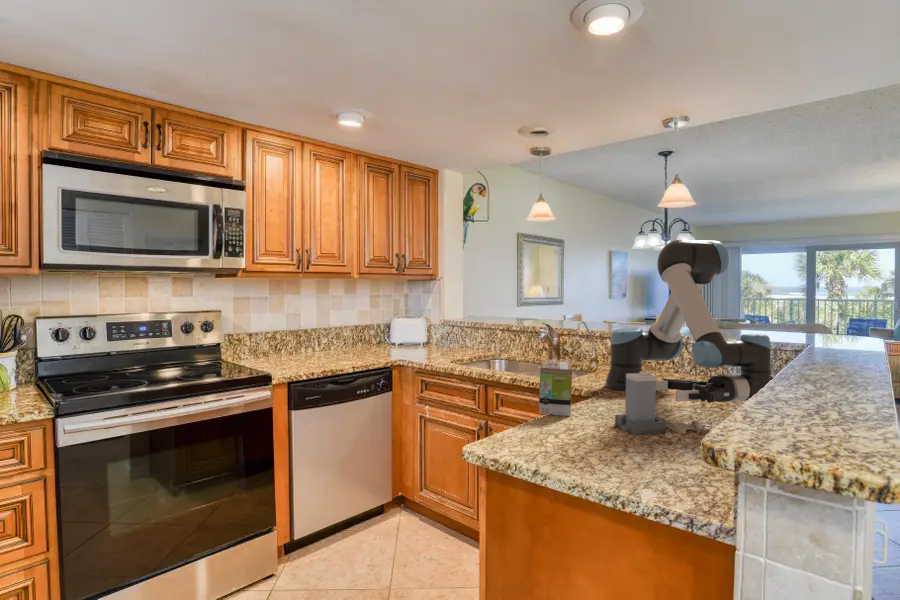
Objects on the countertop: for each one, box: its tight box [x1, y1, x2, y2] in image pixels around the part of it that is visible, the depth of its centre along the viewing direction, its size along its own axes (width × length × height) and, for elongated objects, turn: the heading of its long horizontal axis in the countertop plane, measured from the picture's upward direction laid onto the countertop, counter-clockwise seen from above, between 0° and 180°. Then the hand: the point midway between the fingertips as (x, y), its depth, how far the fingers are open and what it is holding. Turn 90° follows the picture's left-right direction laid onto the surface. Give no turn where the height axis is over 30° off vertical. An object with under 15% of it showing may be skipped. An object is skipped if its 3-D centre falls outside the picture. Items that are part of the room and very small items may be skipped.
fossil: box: [655, 415, 702, 434], centre depth 137 cm, size 7×11×3 cm, turn 29°
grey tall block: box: [625, 370, 657, 424], centre depth 136 cm, size 5×6×15 cm
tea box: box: [538, 361, 573, 417], centre depth 157 cm, size 15×10×15 cm
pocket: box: [614, 414, 667, 435], centre depth 136 cm, size 9×10×3 cm
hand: (661, 390), depth 138 cm, fingers open, 13 cm apart
